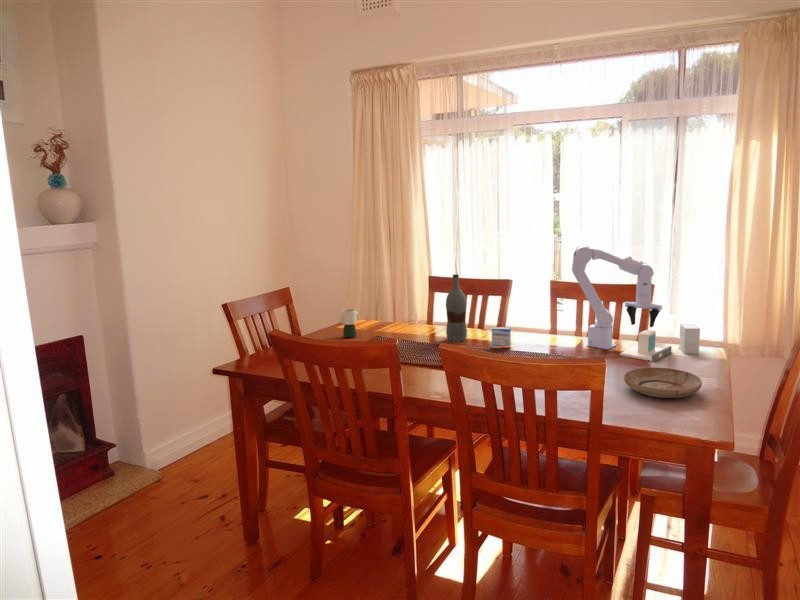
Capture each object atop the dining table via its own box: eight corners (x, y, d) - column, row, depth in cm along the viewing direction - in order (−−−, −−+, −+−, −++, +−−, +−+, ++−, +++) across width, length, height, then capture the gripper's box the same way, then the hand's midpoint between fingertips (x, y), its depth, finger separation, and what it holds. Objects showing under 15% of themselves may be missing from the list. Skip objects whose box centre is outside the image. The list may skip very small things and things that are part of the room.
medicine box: (491, 348, 257) (491, 328, 255) (492, 345, 261) (492, 326, 260) (510, 349, 255) (510, 329, 254) (510, 346, 259) (510, 326, 258)
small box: (698, 354, 239) (700, 328, 237) (683, 354, 240) (685, 328, 238) (693, 349, 246) (694, 324, 244) (678, 348, 247) (680, 323, 245)
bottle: (444, 342, 270) (442, 276, 264) (449, 337, 279) (447, 273, 273) (464, 343, 267) (463, 276, 261) (468, 338, 276) (468, 273, 270)
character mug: (355, 333, 291) (354, 307, 289) (363, 336, 286) (362, 309, 283) (336, 337, 285) (334, 310, 282) (344, 340, 279) (342, 313, 277)
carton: (637, 352, 240) (638, 333, 239) (644, 348, 245) (645, 329, 244) (648, 354, 237) (649, 334, 236) (655, 350, 242) (656, 331, 241)
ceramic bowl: (624, 378, 214) (625, 364, 213) (698, 384, 205) (699, 370, 204) (622, 400, 193) (622, 385, 192) (704, 407, 184) (705, 392, 183)
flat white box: (620, 355, 240) (620, 349, 240) (638, 346, 252) (638, 341, 252) (654, 361, 231) (655, 355, 230) (671, 352, 243) (672, 346, 242)
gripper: (622, 293, 249) (621, 325, 251) (658, 296, 239) (656, 329, 241) (629, 290, 254) (628, 321, 256) (664, 293, 244) (662, 326, 246)
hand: (642, 325), depth 249 cm, fingers open, 7 cm apart
